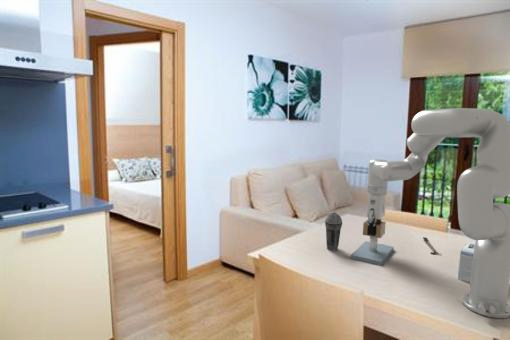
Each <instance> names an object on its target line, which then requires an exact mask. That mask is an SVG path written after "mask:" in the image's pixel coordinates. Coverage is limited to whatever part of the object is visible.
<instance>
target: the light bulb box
mask: <svg viewBox="0 0 510 340" xmlns="http://www.w3.org/2000/svg"><path fill="white" fill-rule="evenodd" d="M474 246H475V243H474V244H473V243H469V242H466V243H465V245H464V246H463V247H462V249H460V251H459V252H460V253H459V254H460V255H459V261H458V263H459V264H458V272H457V280H460V281H463V282H465V283H466V282H467V283H470V280H471V271H472V262H473V253H474Z"/></svg>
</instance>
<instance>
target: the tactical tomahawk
mask: <svg viewBox="0 0 510 340" xmlns="http://www.w3.org/2000/svg"><path fill="white" fill-rule="evenodd" d="M422 239H423V240H424V243H425V244H426V245H427V246H428V247H429V248H430V250H431V251H432V252H431V251H430V254H431V255H433V256H434V255H436V256H441V253H439V252H438V251H437V250H436V249H435V248H434V246H433V245H432V244H431V242H429V240H428V238H427V237H426V236H423V238H422Z"/></svg>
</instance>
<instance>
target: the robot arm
mask: <svg viewBox="0 0 510 340" xmlns="http://www.w3.org/2000/svg"><path fill="white" fill-rule="evenodd" d="M410 126H411V130H412V132H413V133H412V134H411V135H410V136H409V137H408V138H407V140H406V146H407V148H408V150H409V151H410V152H411V153H410V154H409V155H408V156H407V157H406V158H404V160H392V161H388V160H386V159H379V158H374V159H371V160H369V162H368V171H367V173H368V175H367V186H366V187H367V188H366V194H368V200H367V212H366V217H367V220H368V230H367V234H368V235H372V236H375V235H376V226H375V225H376V220H377V221H382V218H384V217H385V214H386V196H387V193H388V182H397V181H407V180H410V179H412V178H414V177H415V176H416V175H417V174H418V173H420V171H422V170H423V169H424V167H425V165H426V163H427V161H428V155H429V154H430V153H431V152H432V151H433V150H434V149H435V148H436V147H437V146H439V144H440V143H442V142H443V140H445V139H446V138H479V143H478V145H477V149H476V166H473V167H469V168H466V169H465V170H464V171H463V172H462V173H461V174H460V175H459V178H458V180H457V184H456V187H457V188H456V191H457V192H456V195H457V196H456V197H457V198H456V199H457V215H458V216H457V217H458V218H457V219H458V224H459V228H460V230H461V231H462V234H464V236H466V237H467V238H469V239H471V240H473V241H475V243H474V245H475V246H474V253H473V262H472V271H471V280H470V282H469V290H468V294H465V295H463V296H462V300H461V301H462V304H463V305H464V306H465V307H466V308H467V309H469V310H470V311H471V312H474V313H476V314H479V315H482V316H486V317H489V318H494V319H495V318H496V319H507V318H509V317H510V304H508V296H509V289H510V204H508V203H503V202H494V200H497V199H502V198H505V197H507V196H509V195H510V121H509V120H508V118H507V117H506V116H505V115H503V114H502V113H500V112H498V111H495V110H491V109H486V108H471V107H469V108H466V107H456V108H450V107H449V108H439V109H438V108H437V109H424V110H420V111H419V112H418V113H416V114H415V115H414V116H413V117H412V119H411V125H410ZM373 220H374V221H373Z"/></svg>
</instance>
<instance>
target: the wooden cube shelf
mask: <svg viewBox="0 0 510 340" xmlns="http://www.w3.org/2000/svg"><path fill="white" fill-rule="evenodd" d="M373 221H374V220H373ZM386 223H387V222H386V221H382V220H381V221H377V220H376V225H375V226H376V235H375V236H372V235H368V234H367V230H368V219H367V220H365V221H364V222H363V224H362V225H363V227H362V235H363V236H367V237H370V236H372V237H377V238H378V239H381V238H382V237H383V236H384V235H385V233H386Z"/></svg>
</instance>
